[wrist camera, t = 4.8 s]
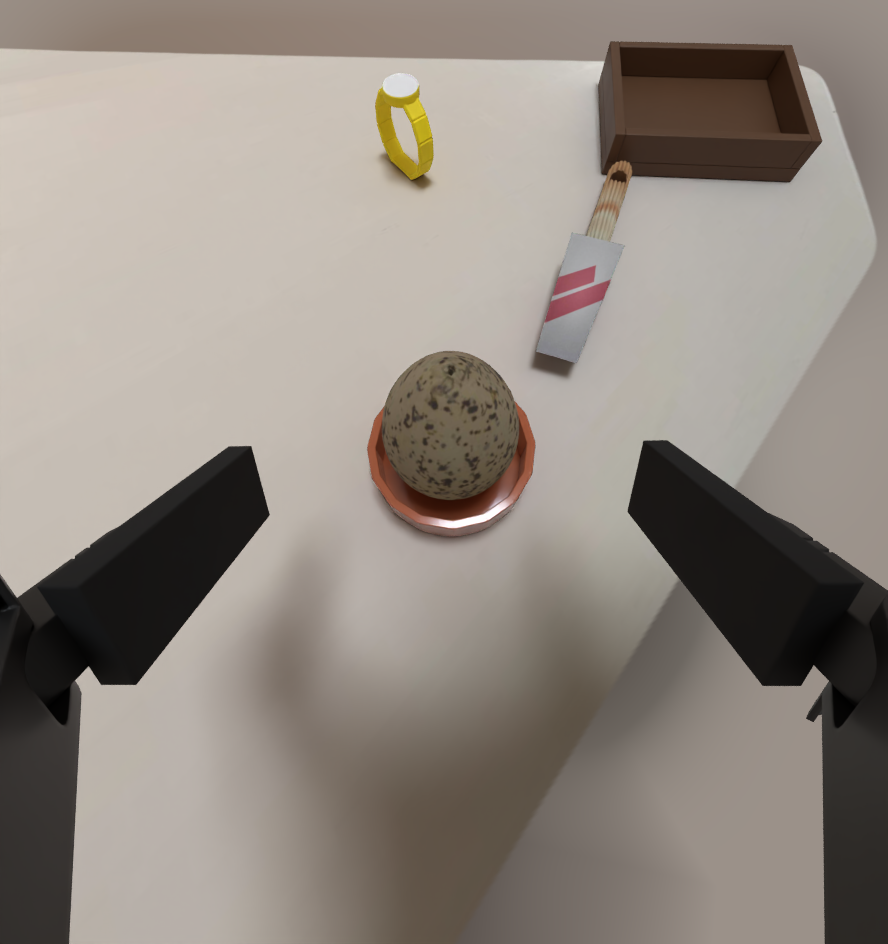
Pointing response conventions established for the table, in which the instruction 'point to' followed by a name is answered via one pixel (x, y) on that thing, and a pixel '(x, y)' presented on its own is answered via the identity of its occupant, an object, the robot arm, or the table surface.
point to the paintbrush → (585, 273)
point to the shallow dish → (452, 513)
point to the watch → (405, 95)
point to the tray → (705, 111)
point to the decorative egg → (450, 426)
